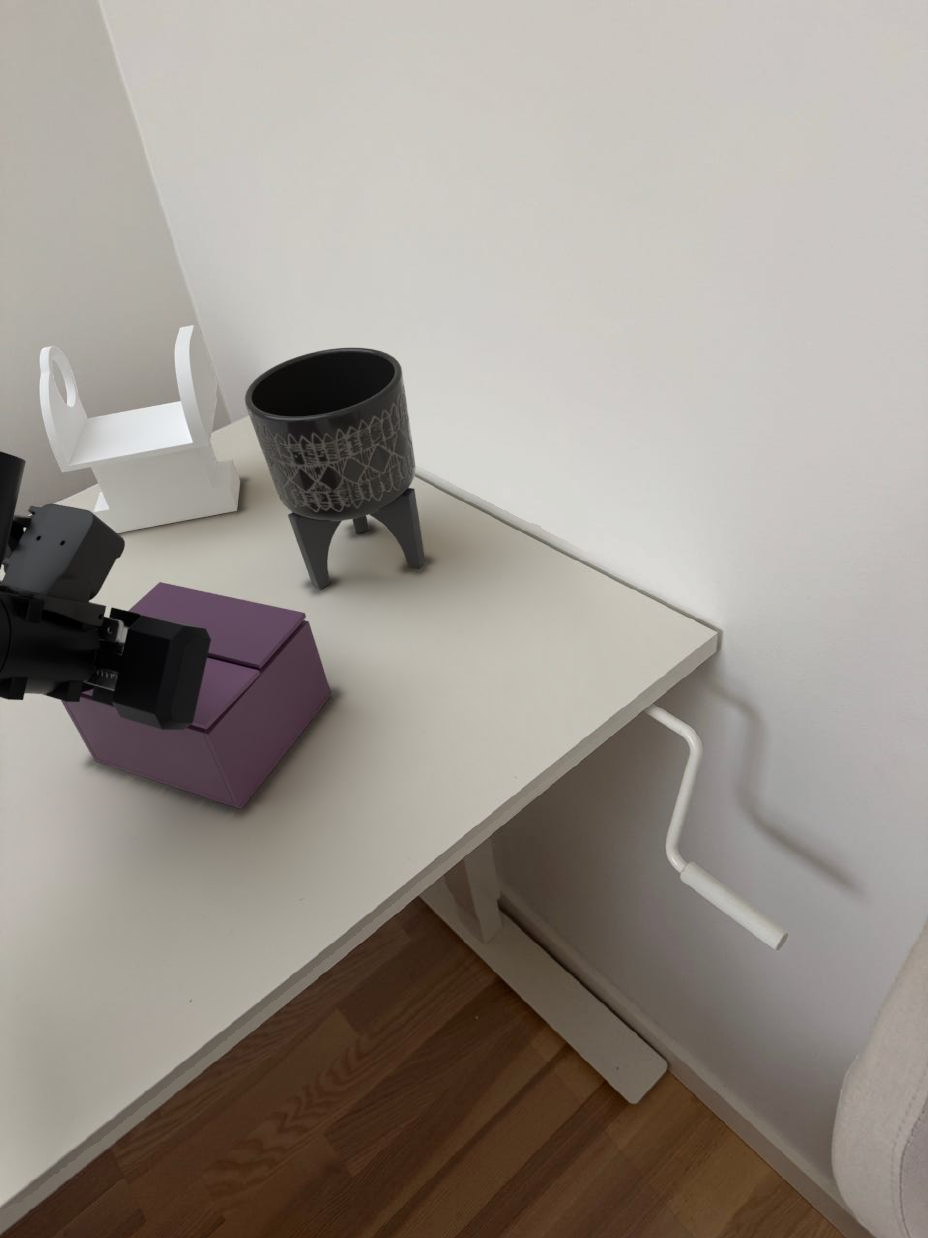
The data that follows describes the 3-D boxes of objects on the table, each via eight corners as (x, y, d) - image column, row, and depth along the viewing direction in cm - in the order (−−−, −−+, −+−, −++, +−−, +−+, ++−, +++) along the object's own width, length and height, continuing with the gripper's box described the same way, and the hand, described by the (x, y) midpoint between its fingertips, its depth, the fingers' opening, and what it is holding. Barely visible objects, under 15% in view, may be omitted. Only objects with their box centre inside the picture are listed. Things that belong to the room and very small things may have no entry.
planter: (295, 535, 93) (244, 364, 82) (425, 508, 94) (392, 335, 83) (299, 614, 83) (242, 432, 72) (445, 583, 84) (410, 398, 72)
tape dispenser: (97, 550, 96) (21, 384, 85) (118, 486, 106) (52, 330, 95) (236, 524, 96) (178, 355, 85) (243, 462, 106) (192, 304, 95)
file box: (241, 809, 66) (204, 726, 61) (94, 761, 72) (49, 681, 67) (331, 695, 74) (306, 612, 69) (192, 659, 80) (159, 581, 75)
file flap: (206, 729, 62) (205, 725, 61) (53, 685, 67) (51, 680, 67) (260, 674, 66) (258, 670, 65) (111, 637, 71) (109, 632, 71)
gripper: (130, 520, 49) (300, 567, 63) (-103, 477, 57) (95, 528, 71) (84, 732, 49) (265, 731, 63) (-144, 660, 57) (63, 674, 71)
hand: (167, 658), depth 67 cm, fingers closed, pressing on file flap
